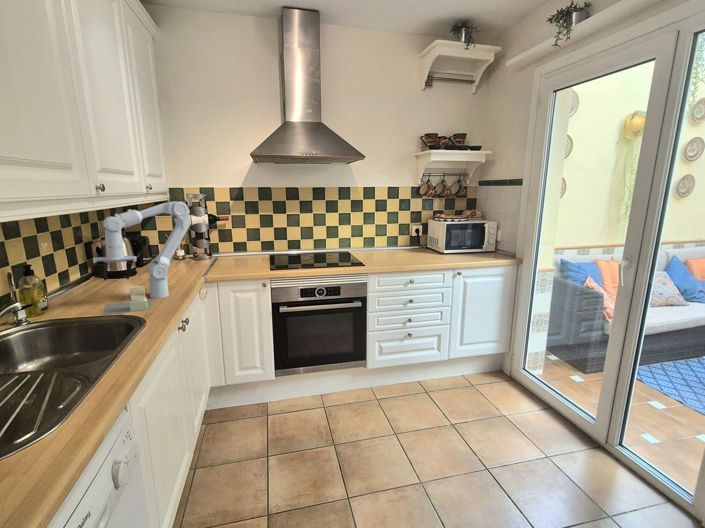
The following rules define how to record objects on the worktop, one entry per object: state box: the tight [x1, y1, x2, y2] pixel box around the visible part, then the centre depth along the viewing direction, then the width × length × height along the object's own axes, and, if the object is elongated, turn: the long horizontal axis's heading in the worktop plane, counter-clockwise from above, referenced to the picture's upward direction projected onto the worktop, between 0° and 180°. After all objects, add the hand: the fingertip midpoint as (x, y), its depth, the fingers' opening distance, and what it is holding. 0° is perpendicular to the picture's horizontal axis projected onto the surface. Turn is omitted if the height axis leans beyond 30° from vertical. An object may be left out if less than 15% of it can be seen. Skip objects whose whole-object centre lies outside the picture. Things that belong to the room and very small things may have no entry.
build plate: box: [100, 299, 152, 317], centre depth 139 cm, size 15×16×1 cm
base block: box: [129, 296, 148, 312], centre depth 137 cm, size 6×6×4 cm
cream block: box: [129, 285, 146, 302], centre depth 136 cm, size 4×4×5 cm
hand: (116, 279), depth 143 cm, fingers open, 7 cm apart
